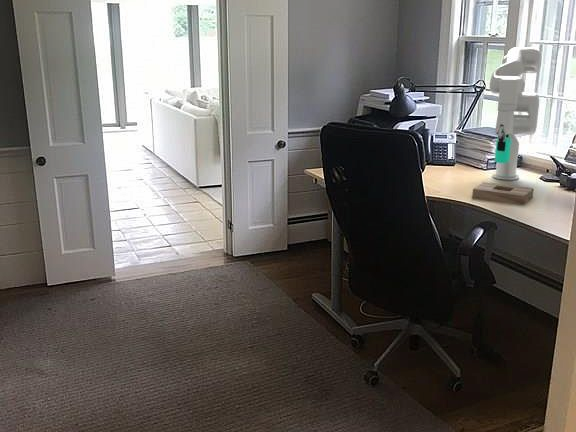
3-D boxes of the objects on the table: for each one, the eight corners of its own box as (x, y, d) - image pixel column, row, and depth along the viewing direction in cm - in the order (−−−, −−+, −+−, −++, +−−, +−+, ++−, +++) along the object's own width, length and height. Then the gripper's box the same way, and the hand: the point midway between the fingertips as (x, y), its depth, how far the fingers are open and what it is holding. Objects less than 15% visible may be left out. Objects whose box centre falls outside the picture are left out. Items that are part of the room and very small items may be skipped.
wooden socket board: (483, 190, 282) (484, 181, 281) (532, 197, 270) (533, 188, 269) (472, 197, 270) (472, 188, 269) (523, 204, 258) (524, 195, 257)
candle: (499, 163, 263) (502, 135, 260) (491, 160, 269) (494, 133, 265) (511, 162, 265) (514, 135, 261) (503, 159, 270) (506, 132, 267)
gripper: (504, 105, 269) (500, 146, 274) (491, 109, 255) (487, 151, 261) (521, 106, 265) (517, 147, 270) (510, 110, 251) (505, 153, 256)
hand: (502, 149), depth 265 cm, fingers closed on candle, 4 cm apart
